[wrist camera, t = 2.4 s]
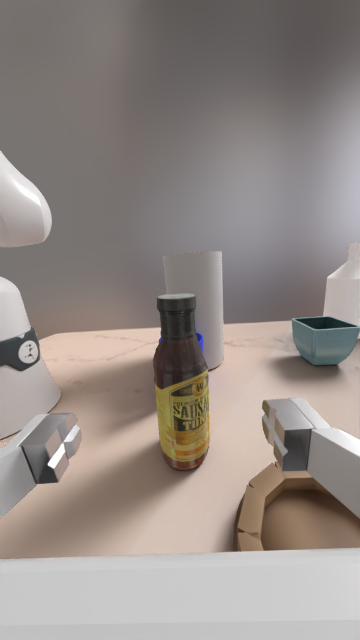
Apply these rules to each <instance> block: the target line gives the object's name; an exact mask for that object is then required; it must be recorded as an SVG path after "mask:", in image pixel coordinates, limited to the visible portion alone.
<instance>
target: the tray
mask: <svg viewBox="0 0 360 640" xmlns="http://www.w3.org/2000/svg"><path fill="white" fill-rule="evenodd" d="M338 548H360V519H359V518H358V517H357V516H356V515H355V514H354V513H353V512H352V511H350V510H349V509H348V508H347V507H346V506H345V505H344V504H342V503H341V502H340V501H339V500H338V499H337V498H336V497H335V496H333V495H332V494H331V493H330V492H329V491H328V490H327V489H326V488H324V487H323V486H322V485H321V484H320V483H319V482H318V481H316V480H315V479H314V478H313V477H312V476H311V475H310V474H309V473H307V471H282V469H281V467H280V465H279V463H278V462H275V465H274V464H273V463H271V464H270V465H269V466H268V467H266V468H265V469H264V470H263V471H262V472H260V473H259V474H258V475H257V476H255V477H254V478H253V479H252V480H251V481H249V486H248V485H247V488H246V492H245V494H244V496H243V498H242V500H241V502H240V505H239V508H238V511H237V516H236V521H235V528H234V552H243V551H275V550H307V549H338Z"/></svg>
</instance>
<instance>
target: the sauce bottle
mask: <svg viewBox="0 0 360 640" xmlns="http://www.w3.org/2000/svg"><path fill="white" fill-rule="evenodd" d="M157 309H158V310H159V312H160V320H161V338H162V340H161V342H160V343H159V345H158V347H157V348H156V352H155V355H154V364H153V365H154V372H155V377H154V384H155V394H156V404H157V415H158V425H159V436H160V444H161V448H162V453H163V456H164V458H165V460H166V462H167V463H168V464H169V465H170V466H171V467H173V468H175V469H178V470H189V469H193V468H195V467H198V465H200V464H201V463H202V462H203V461H204V459H205V457H206V455H207V451H208V448H209V389H208V366H207V364H206V361H205V358H204V356H203V353H202V350H201V347H200V345H199V342H198V339H197V336H196V328H195V309H196V296H195V295H194V294H188V293H186V294H168V295H162V296H158V297H157Z"/></svg>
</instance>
